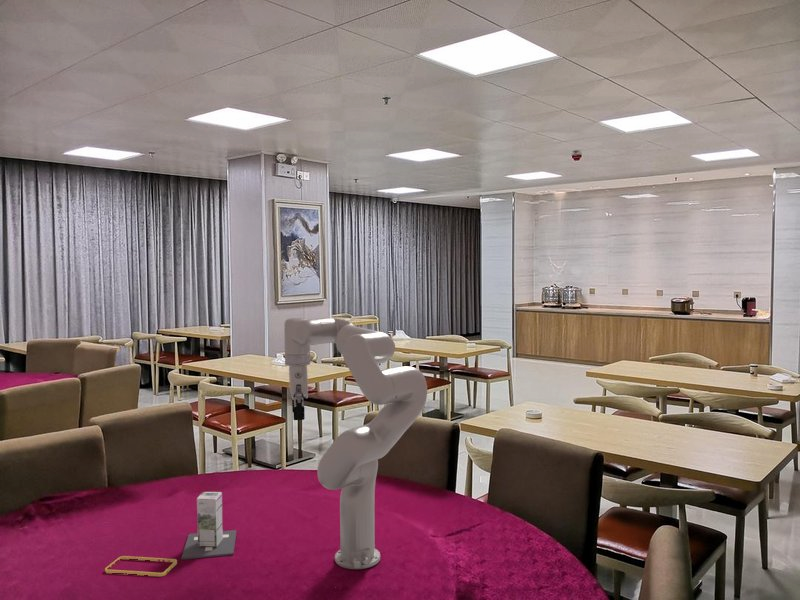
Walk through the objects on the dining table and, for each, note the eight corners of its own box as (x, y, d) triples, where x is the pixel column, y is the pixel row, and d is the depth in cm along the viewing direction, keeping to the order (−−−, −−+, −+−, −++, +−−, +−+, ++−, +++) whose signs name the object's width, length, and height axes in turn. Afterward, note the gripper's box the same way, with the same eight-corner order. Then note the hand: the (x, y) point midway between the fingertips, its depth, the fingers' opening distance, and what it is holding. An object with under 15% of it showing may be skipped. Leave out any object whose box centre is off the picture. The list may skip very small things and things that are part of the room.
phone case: (120, 560, 176) (120, 555, 176) (178, 563, 174) (178, 559, 174) (103, 574, 168) (103, 569, 168) (163, 578, 166) (163, 573, 166)
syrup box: (223, 539, 187) (222, 491, 186) (216, 548, 181) (215, 498, 180) (204, 538, 187) (203, 490, 186) (197, 547, 181) (196, 498, 181)
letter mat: (233, 554, 178) (233, 552, 178) (181, 559, 175) (181, 557, 175) (236, 531, 194) (236, 529, 194) (188, 535, 191) (188, 533, 191)
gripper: (312, 363, 181) (312, 422, 182) (308, 355, 198) (309, 409, 199) (285, 364, 180) (286, 423, 180) (284, 355, 197) (285, 410, 197)
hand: (298, 416), depth 190 cm, fingers open, 9 cm apart
